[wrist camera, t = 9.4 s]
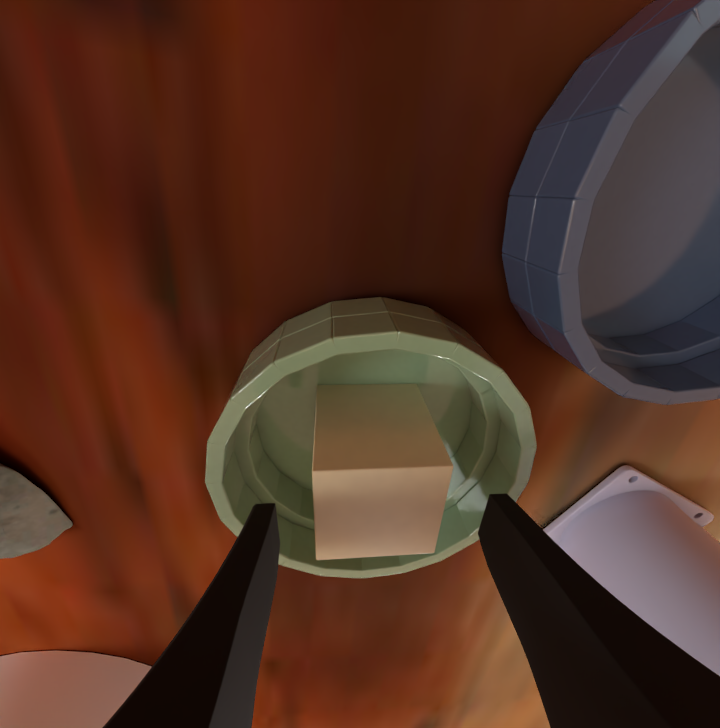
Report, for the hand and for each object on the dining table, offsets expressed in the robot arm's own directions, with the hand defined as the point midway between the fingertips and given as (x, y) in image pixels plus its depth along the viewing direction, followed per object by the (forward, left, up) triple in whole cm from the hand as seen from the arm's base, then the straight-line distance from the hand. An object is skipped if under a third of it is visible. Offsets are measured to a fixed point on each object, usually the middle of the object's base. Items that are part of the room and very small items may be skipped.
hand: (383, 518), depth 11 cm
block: (0, 0, -5) cm, 5 cm away
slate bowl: (-4, -13, -6) cm, 15 cm away
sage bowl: (0, 0, -6) cm, 6 cm away
